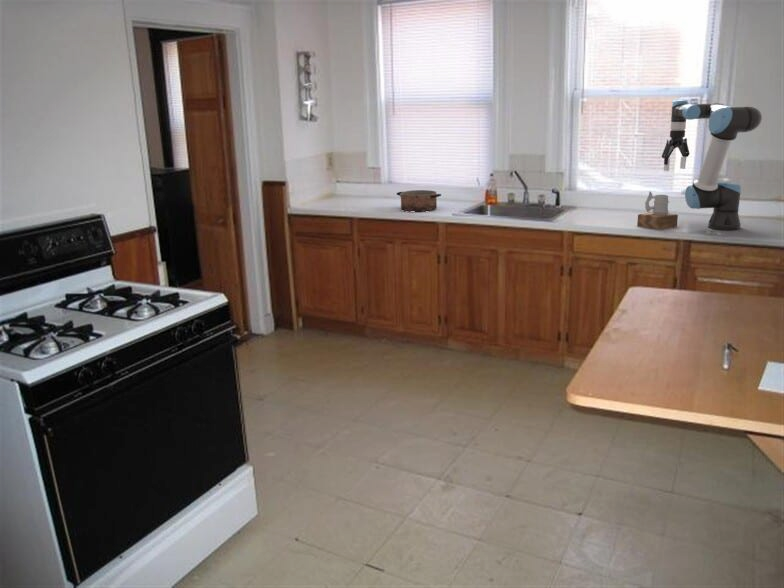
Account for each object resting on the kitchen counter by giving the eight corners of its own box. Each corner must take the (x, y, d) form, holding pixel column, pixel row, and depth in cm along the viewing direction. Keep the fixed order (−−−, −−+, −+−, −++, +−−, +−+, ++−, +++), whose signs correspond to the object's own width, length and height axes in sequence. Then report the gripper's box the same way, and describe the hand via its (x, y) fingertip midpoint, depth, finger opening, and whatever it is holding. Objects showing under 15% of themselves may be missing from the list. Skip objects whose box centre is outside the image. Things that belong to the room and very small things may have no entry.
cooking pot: (448, 208, 448) (448, 191, 445) (430, 214, 430) (430, 196, 427) (407, 205, 464) (407, 189, 461) (389, 210, 446) (388, 193, 443)
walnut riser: (676, 226, 371) (677, 214, 370) (659, 229, 364) (660, 217, 363) (654, 222, 383) (655, 211, 381) (637, 225, 376) (638, 214, 374)
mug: (669, 215, 367) (671, 192, 364) (645, 215, 369) (647, 192, 366) (666, 213, 374) (668, 190, 371) (643, 213, 376) (644, 190, 373)
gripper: (686, 128, 390) (683, 167, 396) (656, 130, 377) (653, 171, 383) (698, 128, 384) (695, 168, 389) (668, 131, 371) (665, 172, 377)
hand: (674, 169), depth 386 cm, fingers open, 13 cm apart
